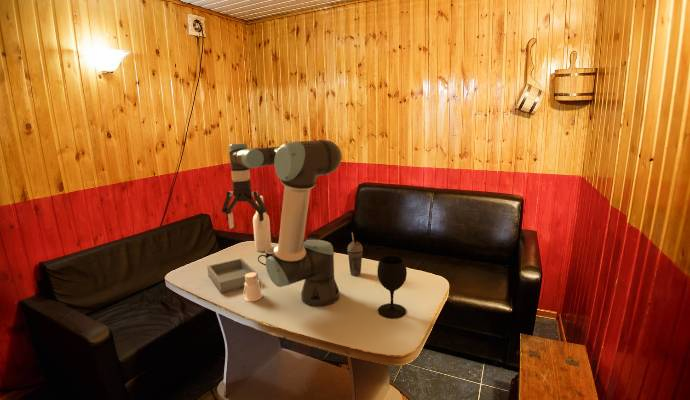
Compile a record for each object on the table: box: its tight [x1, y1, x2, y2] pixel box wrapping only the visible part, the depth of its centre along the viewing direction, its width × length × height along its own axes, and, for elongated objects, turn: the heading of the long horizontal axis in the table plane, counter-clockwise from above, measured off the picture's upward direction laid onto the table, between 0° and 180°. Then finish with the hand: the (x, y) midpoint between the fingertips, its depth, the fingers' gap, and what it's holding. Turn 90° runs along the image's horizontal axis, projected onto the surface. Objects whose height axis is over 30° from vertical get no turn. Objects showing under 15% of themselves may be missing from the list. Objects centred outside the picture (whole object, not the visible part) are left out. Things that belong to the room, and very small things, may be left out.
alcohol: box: [252, 195, 272, 253], centre depth 201 cm, size 9×9×30 cm
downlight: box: [242, 272, 264, 302], centre depth 148 cm, size 8×7×10 cm
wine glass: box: [376, 255, 408, 319], centre depth 133 cm, size 10×10×20 cm
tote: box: [206, 257, 259, 295], centre depth 165 cm, size 22×16×5 cm
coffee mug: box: [257, 247, 274, 267], centre depth 174 cm, size 12×9×10 cm
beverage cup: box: [346, 232, 364, 277], centre depth 166 cm, size 7×7×20 cm
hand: (245, 228), depth 161 cm, fingers open, 13 cm apart
